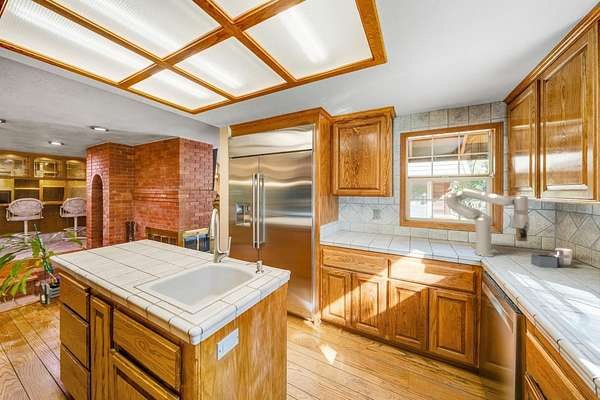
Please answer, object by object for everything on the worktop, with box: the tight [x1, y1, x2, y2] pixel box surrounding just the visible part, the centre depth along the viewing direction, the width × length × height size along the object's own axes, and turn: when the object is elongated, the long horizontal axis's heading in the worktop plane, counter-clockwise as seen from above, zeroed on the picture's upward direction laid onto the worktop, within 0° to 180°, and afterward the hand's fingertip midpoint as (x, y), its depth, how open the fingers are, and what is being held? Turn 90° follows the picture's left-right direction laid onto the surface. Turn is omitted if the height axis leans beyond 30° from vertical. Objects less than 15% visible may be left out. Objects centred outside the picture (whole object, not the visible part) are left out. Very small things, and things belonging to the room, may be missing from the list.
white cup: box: [554, 247, 573, 266], centre depth 157 cm, size 8×8×10 cm
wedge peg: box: [515, 227, 528, 242], centre depth 165 cm, size 3×5×10 cm, turn 77°
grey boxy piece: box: [530, 250, 570, 269], centre depth 152 cm, size 9×18×11 cm, turn 76°
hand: (521, 237), depth 165 cm, fingers closed on wedge peg, 3 cm apart
